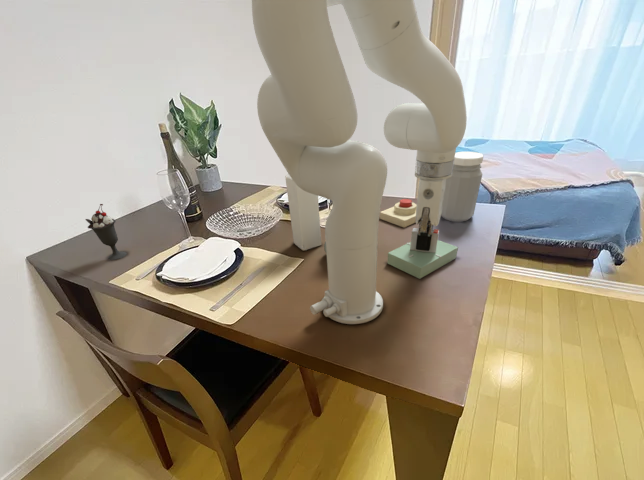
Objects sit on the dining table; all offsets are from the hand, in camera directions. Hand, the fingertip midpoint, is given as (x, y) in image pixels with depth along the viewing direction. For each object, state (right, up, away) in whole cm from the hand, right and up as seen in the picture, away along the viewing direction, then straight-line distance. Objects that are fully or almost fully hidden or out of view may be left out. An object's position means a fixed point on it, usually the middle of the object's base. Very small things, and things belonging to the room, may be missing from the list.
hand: (423, 246), depth 80 cm
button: (+1, +16, +22) cm, 28 cm away
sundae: (-84, 0, +16) cm, 86 cm away
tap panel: (0, -3, +2) cm, 4 cm away
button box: (+2, +13, +25) cm, 28 cm away
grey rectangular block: (0, -1, +1) cm, 1 cm away
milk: (-29, +3, +14) cm, 32 cm away
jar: (+17, +13, +22) cm, 31 cm away
